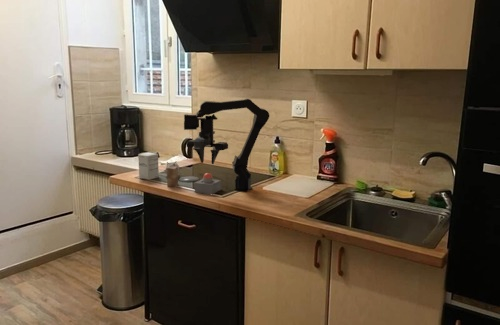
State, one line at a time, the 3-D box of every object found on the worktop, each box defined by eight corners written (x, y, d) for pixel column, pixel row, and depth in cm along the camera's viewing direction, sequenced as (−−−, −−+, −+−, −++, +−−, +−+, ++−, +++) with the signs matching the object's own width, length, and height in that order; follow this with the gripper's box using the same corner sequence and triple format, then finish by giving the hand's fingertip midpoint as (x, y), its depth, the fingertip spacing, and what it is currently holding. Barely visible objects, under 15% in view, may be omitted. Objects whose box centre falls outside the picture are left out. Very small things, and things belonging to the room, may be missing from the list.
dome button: (214, 186, 192) (214, 172, 191) (209, 188, 188) (209, 174, 187) (206, 185, 194) (205, 171, 193) (201, 187, 190) (201, 173, 189)
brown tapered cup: (178, 184, 202) (177, 166, 200) (175, 186, 198) (174, 168, 196) (170, 184, 203) (169, 166, 201) (167, 186, 199) (166, 168, 197)
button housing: (221, 189, 194) (221, 180, 193) (211, 194, 186) (211, 184, 185) (204, 187, 197) (204, 178, 196) (194, 192, 189) (194, 182, 188)
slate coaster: (202, 178, 214) (202, 177, 214) (192, 182, 205) (192, 182, 205) (185, 176, 218) (185, 175, 218) (175, 180, 209) (175, 180, 209)
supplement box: (138, 177, 215) (137, 154, 212) (150, 175, 220) (148, 151, 218) (148, 180, 210) (147, 155, 208) (159, 177, 216) (158, 153, 213)
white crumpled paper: (175, 183, 217) (179, 171, 210) (160, 178, 217) (163, 165, 210) (181, 172, 224) (184, 160, 217) (166, 166, 223) (169, 154, 216)
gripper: (179, 130, 182) (180, 165, 185) (216, 133, 175) (217, 169, 178) (192, 127, 192) (193, 160, 195) (228, 130, 185) (228, 164, 188)
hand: (207, 163), depth 189 cm, fingers open, 5 cm apart
